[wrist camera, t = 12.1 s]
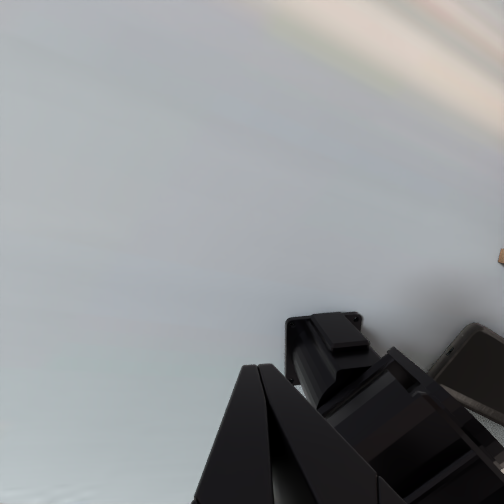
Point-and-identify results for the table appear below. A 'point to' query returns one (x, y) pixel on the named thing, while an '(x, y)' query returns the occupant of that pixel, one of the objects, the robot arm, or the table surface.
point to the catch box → (501, 256)
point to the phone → (474, 371)
